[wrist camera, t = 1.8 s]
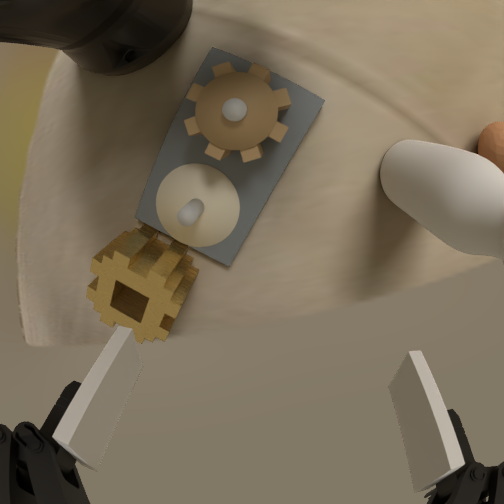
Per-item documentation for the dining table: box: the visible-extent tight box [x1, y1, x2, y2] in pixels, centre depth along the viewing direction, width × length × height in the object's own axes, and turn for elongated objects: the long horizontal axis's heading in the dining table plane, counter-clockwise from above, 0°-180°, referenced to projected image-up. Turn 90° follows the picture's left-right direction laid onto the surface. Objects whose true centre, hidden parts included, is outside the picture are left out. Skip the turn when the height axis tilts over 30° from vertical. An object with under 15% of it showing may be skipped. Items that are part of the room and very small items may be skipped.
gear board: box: [135, 47, 325, 266], centre depth 24 cm, size 12×20×7 cm, turn 152°
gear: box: [86, 224, 199, 344], centre depth 30 cm, size 10×10×8 cm
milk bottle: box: [380, 140, 504, 263], centre depth 17 cm, size 8×8×20 cm
